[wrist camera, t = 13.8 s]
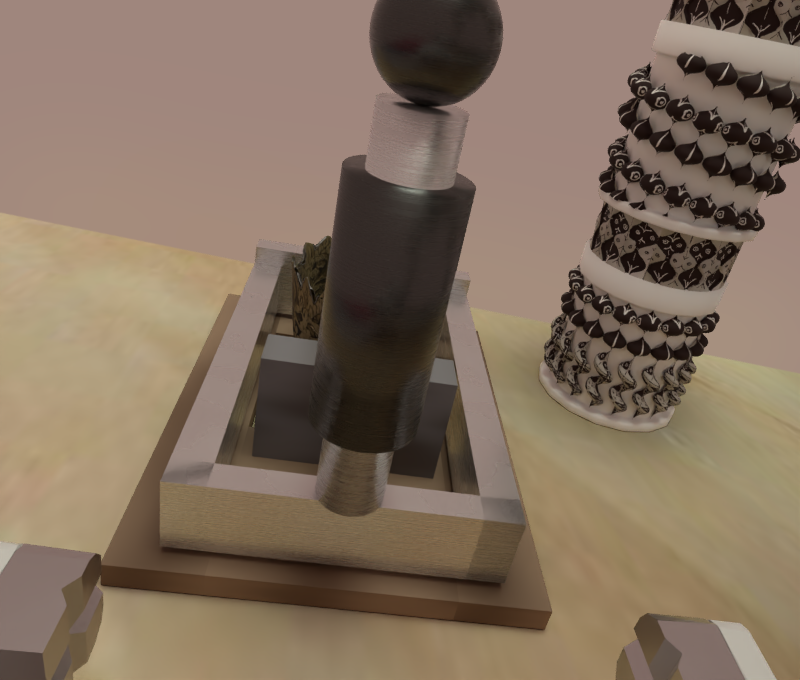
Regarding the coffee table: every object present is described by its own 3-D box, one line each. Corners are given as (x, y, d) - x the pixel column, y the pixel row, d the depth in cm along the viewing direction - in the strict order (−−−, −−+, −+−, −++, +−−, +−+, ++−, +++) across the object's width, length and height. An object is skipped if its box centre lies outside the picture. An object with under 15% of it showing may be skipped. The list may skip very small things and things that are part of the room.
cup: (312, 351, 39) (330, 223, 35) (430, 389, 38) (462, 261, 34) (250, 416, 32) (263, 268, 29) (390, 465, 31) (424, 317, 27)
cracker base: (474, 344, 43) (496, 260, 40) (544, 629, 25) (596, 510, 22) (227, 308, 42) (233, 217, 39) (101, 584, 23) (93, 449, 20)
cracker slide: (453, 329, 42) (538, -8, 32) (510, 610, 23) (740, 20, 14) (254, 300, 40) (284, -61, 31) (149, 573, 22) (145, -107, 13)
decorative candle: (712, 428, 39) (954, -48, 28) (590, 444, 36) (810, -100, 24) (616, 349, 47) (776, -57, 35) (506, 355, 43) (642, -98, 31)
